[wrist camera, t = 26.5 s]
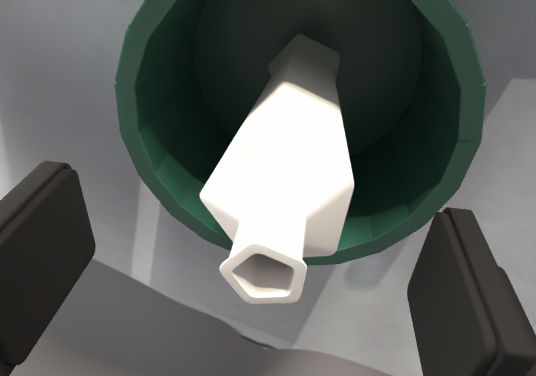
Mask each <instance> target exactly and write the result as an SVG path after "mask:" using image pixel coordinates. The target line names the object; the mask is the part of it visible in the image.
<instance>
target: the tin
mask: <svg viewBox="0 0 536 376" xmlns="http://www.w3.org/2000/svg"><path fill="white" fill-rule="evenodd" d="M298 34H302V35H305V36H307V37H309V38H310V39H312V40H314V41H316V42H318V43H320V44H322V45H324V46H326V47H328V48H330V49H332V50H334V51H336V52H338V53H339V54H340V63H339V68H338V72H337V77H336V82H335V83H336V88H337V94H338V99H339V104H340V110H341V115H342V120H343V126H344V131H345V136H346V142H347V147H348V153H349V158H350V163H351V169H352V174H353V179H354V189H353V193H352V196H351V200H350V204H349V207H348V211H347V214H346V218H345V222H344V225H343V229H342V232H341V236H340V240H339V243H338V247H337V250H336V252H335V253H334V254H333V255H330V256H318V257H303V259H302V260H303V261H304V262H305V264H306V265H328V264H340V263H344V262H347V261H351V260H354V259H358V258H361V257H365V256H368V255H372V254H375V253H379V252H382V250H385V249H386V248H388V247H390V246H391V245H393V244H395V243H396V242H398V241H400V240H402V239H403V238H405V237H407V236H408V235H410V234H412V233H413V232H415V231H417V230H418V229H420V228H422V226H424V225H425V224H426V223H427V222H428V221H429V220H430V219H431V218H432V217H433V216H434V215H435V214H436V213H437V212H438V211H439V209H440V208H441V207H442V206H443V205H444V204H445V203H446V202H447V201H448V200H449V199H450V198H451V197H452V196H453V195H454V194H455V192H456V191H457V190H458V189H459V188H460V186H461V183H462V181H463V179H464V177H465V175H466V173H467V171H468V169H469V166H470V164H471V162H472V160H473V158H474V156H475V154H476V152H477V149H478V147H479V145H480V143H481V139H482V128H483V117H484V105H485V94H486V83H485V77H484V74H483V70H482V67H481V64H480V60H479V57H478V54H477V50H476V47H475V43H474V40H473V37H472V33H471V30H470V26H469V24H468V23H467V20H466V19H465V18H464V16H463V15H462V14H461V13H460V11H459V10H458V9H457V7H456V6H455V5H454V4H453V2H452V1H451V0H145V1H144V2H143V4H142V5H141V7H140V8H139V10H138V11H137V13H136V14H135V16H134V17H133V19H132V20H131V22H130V23H129V25H128V28H127V29H126V33H125V38H124V42H123V46H122V51H121V55H120V60H119V64H118V68H117V73H116V77H115V90H116V99H117V108H118V117H119V126H120V132H121V136H122V138H123V140H124V142H125V145H126V147H127V149H128V152H129V154H130V156H131V158H132V161H133V163H134V165H135V167H136V170H137V172H138V174H139V176H141V179H142V180H143V182H144V183H145V184H146V185H147V186H148V188H149V189H150V190H151V191H152V193H153V194H154V195H155V196H156V197H157V199H158V200H159V201H160V202H161V204H162V205H163V206H164V207H165V208H166V210H167V211H168V212H170V214H171V215H172V216H174V217H175V218H176V219H178V220H179V221H180V222H182V223H183V224H184V225H186V226H187V227H188V228H190V229H191V230H193V231H194V232H195V233H197V234H198V235H199V236H201V237H202V238H203V239H205V240H207V241H209V242H211V243H213V244H216V245H218V246H220V247H223V248H225V249H227V250H230V251H231V250H232V247H233V241H232V240H231V239H230V238H229V236H228V235H227V234H226V232H225V231H224V230H223V228H222V227H221V226H220V224H219V223H218V222H217V221H216V219H215V218H214V217H213V215H212V214H211V213H210V211H209V210H208V209H207V207H206V206H205V205H204V204H203V202H202V201H201V199H200V193H201V191H202V189H203V188H204V186H205V185H206V183H207V181H208V180H209V178H210V176H211V175H212V173H213V172H214V170H215V168H216V167H217V165H218V163H219V162H220V160H221V159H222V157H223V155H224V154H225V152H226V150H227V149H228V147H229V146H230V144H231V142H232V141H233V139H234V137H235V136H236V134H237V133H238V131H239V129H240V128H241V126H242V124H243V123H244V121H245V120H246V118H247V116H248V115H249V113H250V111H251V110H252V108H253V107H254V105H255V103H256V102H257V100H258V98H259V97H260V95H261V93H262V92H263V90H264V89H265V87H266V85H267V84H268V82H269V80H270V79H271V75H270V72H269V69H268V66H269V64H270V63H271V62H272V61H273V60H274V58H275V57H276V56H277V55H278V54H279V53H280V52H281V51H282V50H283V49H284V48H285V47H286V46H287V45H288V44H289V42H290V41H291V40H292V39H293V38H294V37H295V36H296V35H298Z"/></svg>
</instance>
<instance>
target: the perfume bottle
mask: <svg viewBox="0 0 536 376" xmlns="http://www.w3.org/2000/svg"><path fill="white" fill-rule="evenodd" d="M339 63H340V54H339V53H338V52H336V51H334V50H332V49H330V48H328V47H326V46H324V45H322V44H320V43H318V42H316V41H314V40H312V39H310V38H309V37H307V36H305V35H302V34H298V35H296V36H295V37H294V38H293V39H292V40H291V41H290V42H289V44H288V45H287V46H286V47H285V48H284V49H283V50H282V51H281V52H280V53H279V54H278V55H277V56H276V57H275V58H274V60H273V61H272V62H271V63H270V64H269V66H268V69H269V72H270V75H271V79H270V80H269V82H268V84H267V85H266V87H265V89H264V90H263V92H262V93H261V95H260V97H259V98H258V100H257V102H256V103H255V105H254V107H253V108H252V110H251V111H250V113H249V115H248V116H247V118H246V120H245V121H244V123H243V124H242V126H241V128H240V129H239V131H238V133H237V134H236V136H235V137H234V139H233V141H232V142H231V144H230V146H229V147H228V149H227V150H226V152H225V154H224V155H223V157H222V159H221V160H220V162H219V163H218V165H217V167H216V168H215V170H214V172H213V173H212V175H211V176H210V178H209V180H208V181H207V183H206V185H205V186H204V188H203V189H202V191H201V193H200V199H201V201H202V202H203V204H204V205H205V206H206V207H207V209H208V210H209V211H210V213H211V214H212V215H213V217H214V218H215V219H216V221H217V222H218V223H219V224H220V226H221V227H222V228H223V230H224V231H225V232H226V234H227V235H228V236H229V238H230V239H231V240H232V241H233V247H232V250H231V253H230V256H229V258H228V259H227V260H226V261H224V262H223V263H222V264H221V265H220V272H221V274H222V276H223V277H224V278H225V279H226V280H227V282H228V283H229V284H230V285H231V287H232V288H233V289H234V290H235V291H236V293H237V294H238V295H239V296H240V297H241V299H242V300H244V301H245V302H247V303H249V304H280V303H295V302H297V301H298V300H299V299H300V297H301V295H302V290H303V286H304V282H305V277H306V273H307V265H306V264H305V262H304V261H303V260H302V259H303V257H318V256H330V255H333V254H334V253H335V252H336V250H337V247H338V243H339V240H340V236H341V232H342V229H343V225H344V222H345V218H346V214H347V211H348V207H349V204H350V200H351V196H352V193H353V189H354V179H353V174H352V169H351V163H350V158H349V153H348V147H347V142H346V136H345V131H344V126H343V120H342V115H341V110H340V104H339V99H338V94H337V88H336V83H335V82H336V77H337V72H338V68H339Z"/></svg>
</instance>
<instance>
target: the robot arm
mask: <svg viewBox="0 0 536 376" xmlns="http://www.w3.org/2000/svg"><path fill="white" fill-rule="evenodd" d="M94 253H95V240H94V237H93V233H92V229H91V225H90V221H89V217H88V213H87V209H86V205H85V201H84V197H83V194H82V190H81V186H80V182H79V178H78V174H77V172H76V171H75V170H73V169H72V168H71V166H70V165H69V164H67V163H60V162H52V161H44V162H42V163H41V164H39V165H38V166H37V167H36V168H35V169H34V170H33V171H32V172H31V173H30V174H29V175H28V176H26V177H25V178H24V179H23V180H22V181H21V182H20V183H19V184H18V185H17V186H16V187H15V188H13V189H12V190H11V191H10V192H9V193H8V194H7V195H6V196H5V197H4V198H3V199H1V200H0V376H9V375H10V374H11V372H12V371H13V369H14V368H15V366H16V365H20V364H21V363H23V362H24V361H25V359H26V358H27V356H28V355H29V353H30V352H31V350H32V349H33V347H34V346H35V344H36V343H37V341H38V340H39V338H40V337H41V335H42V333H43V332H44V331H45V329H46V328H47V326H48V324H49V323H50V321H51V320H52V318H53V317H54V315H55V314H56V312H57V311H58V309H59V308H60V306H61V305H62V303H63V302H64V300H65V298H66V297H67V295H68V294H69V292H70V291H71V289H72V288H73V286H74V285H75V283H76V282H77V280H78V279H79V277H80V276H81V274H82V272H83V271H84V269H85V268H86V267H87V265H88V263H89V262H90V260H91V259H92V257H93V255H94ZM407 296H408V302H409V307H410V312H411V317H412V322H413V327H414V332H415V337H416V342H417V347H418V352H419V357H420V362H421V367H422V372H423V376H536V335H535V333H534V331H533V328H532V326H531V324H530V322H529V320H528V318H527V316H526V314H525V312H524V310H523V308H522V305H521V303H520V301H519V299H518V297H517V295H516V293H515V291H514V289H513V287H512V285H511V282H510V280H509V278H508V276H507V274H506V273H505V271H504V270H503V269H502V268H501V267H499V266H497V263H496V261H495V259H494V257H493V255H492V253H491V250H490V248H489V246H488V244H487V242H486V240H485V238H484V235H483V233H482V231H481V229H480V227H479V225H478V222H477V220H476V218H475V216H474V214H473V212H472V211H471V210H466V209H457V208H449V207H447V208H445V209H444V210H443V212H437V213H436V214H435V216H434V218H433V221H432V224H431V226H430V229H429V232H428V234H427V237H426V239H425V242H424V245H423V247H422V250H421V253H420V255H419V258H418V260H417V263H416V266H415V268H414V271H413V274H412V276H411V279H410V282H409V285H408V291H407Z"/></svg>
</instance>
